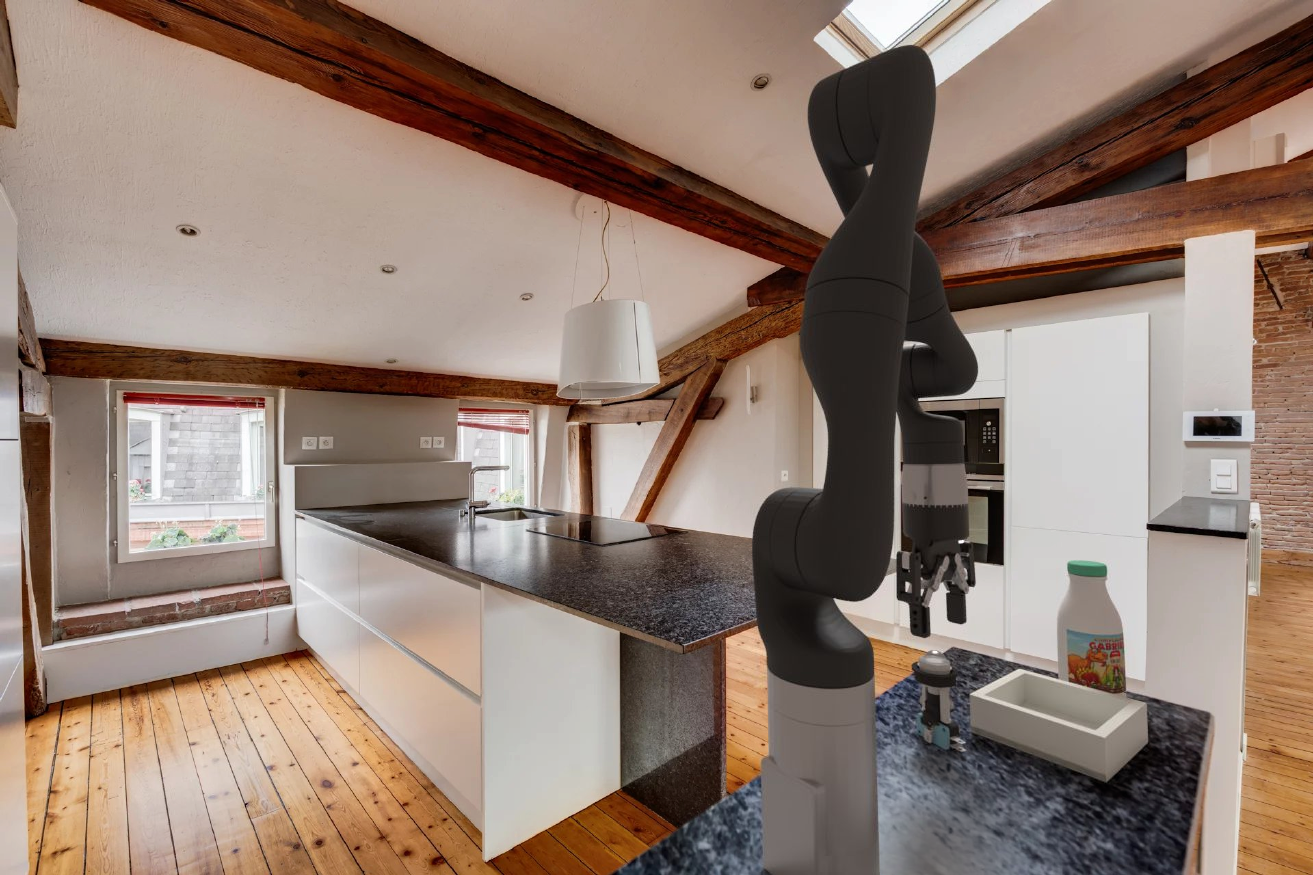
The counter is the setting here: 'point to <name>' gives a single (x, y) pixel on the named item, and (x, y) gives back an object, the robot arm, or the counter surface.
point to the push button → (936, 701)
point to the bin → (1061, 722)
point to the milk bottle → (1090, 631)
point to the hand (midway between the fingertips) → (939, 629)
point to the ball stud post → (939, 654)
